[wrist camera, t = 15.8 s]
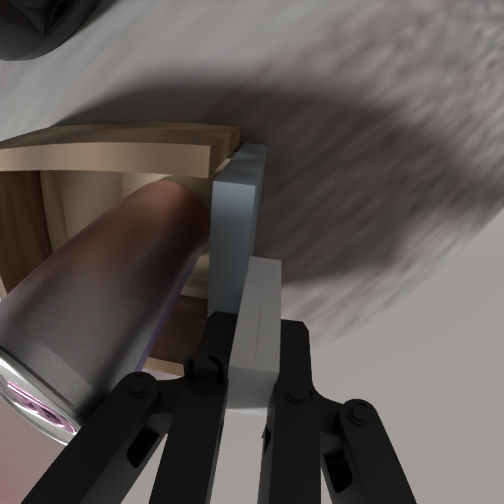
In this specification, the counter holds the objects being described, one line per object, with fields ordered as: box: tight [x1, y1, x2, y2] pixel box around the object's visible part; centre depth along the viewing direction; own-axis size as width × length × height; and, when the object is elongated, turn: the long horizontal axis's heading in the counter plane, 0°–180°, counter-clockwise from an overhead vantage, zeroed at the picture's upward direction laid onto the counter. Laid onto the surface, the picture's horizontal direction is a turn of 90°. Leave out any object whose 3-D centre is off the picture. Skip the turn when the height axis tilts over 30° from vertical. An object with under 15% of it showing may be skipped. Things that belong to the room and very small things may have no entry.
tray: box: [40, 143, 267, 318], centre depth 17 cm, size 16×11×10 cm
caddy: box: [0, 122, 241, 376], centre depth 17 cm, size 16×13×9 cm
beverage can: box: [0, 181, 210, 446], centre depth 13 cm, size 6×6×15 cm
